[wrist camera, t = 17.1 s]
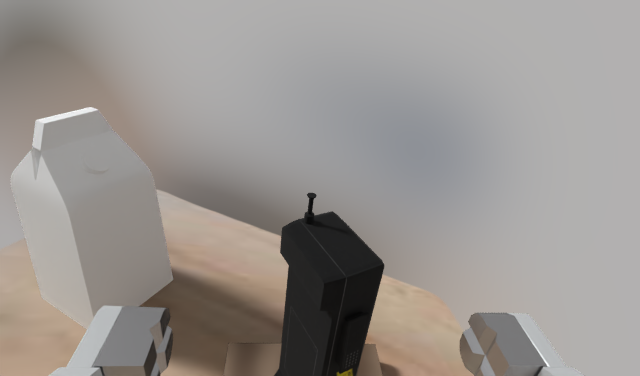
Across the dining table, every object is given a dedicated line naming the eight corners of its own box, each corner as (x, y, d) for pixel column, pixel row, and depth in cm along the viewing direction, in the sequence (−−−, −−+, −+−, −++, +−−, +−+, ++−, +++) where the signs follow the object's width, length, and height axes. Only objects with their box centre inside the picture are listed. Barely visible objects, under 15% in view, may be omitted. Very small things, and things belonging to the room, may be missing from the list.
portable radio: (355, 437, 36) (418, 239, 24) (302, 470, 33) (340, 264, 21) (317, 370, 42) (351, 181, 29) (268, 393, 39) (282, 195, 26)
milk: (120, 250, 59) (87, 91, 46) (173, 279, 55) (153, 114, 42) (41, 298, 50) (-29, 115, 37) (98, 337, 46) (42, 147, 33)
